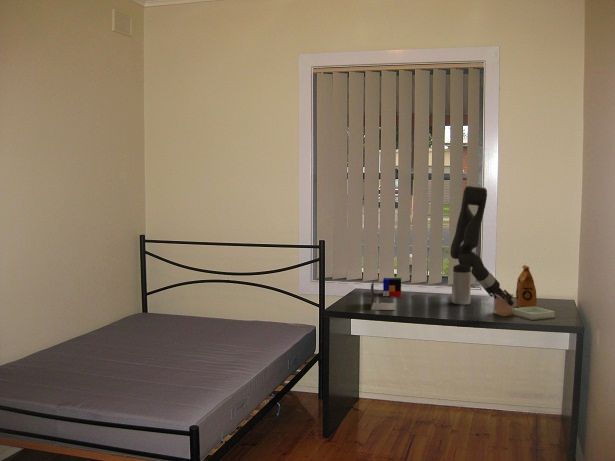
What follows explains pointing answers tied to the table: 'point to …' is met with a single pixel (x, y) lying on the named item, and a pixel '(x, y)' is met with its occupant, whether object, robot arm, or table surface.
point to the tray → (533, 313)
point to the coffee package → (525, 289)
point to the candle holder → (502, 313)
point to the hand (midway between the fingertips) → (506, 303)
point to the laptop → (382, 305)
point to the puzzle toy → (392, 286)
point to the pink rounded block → (503, 305)
